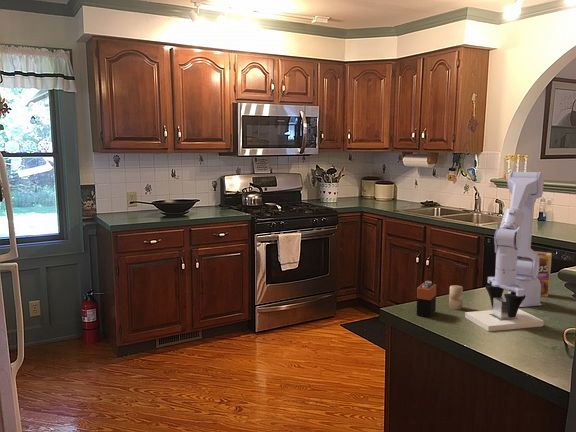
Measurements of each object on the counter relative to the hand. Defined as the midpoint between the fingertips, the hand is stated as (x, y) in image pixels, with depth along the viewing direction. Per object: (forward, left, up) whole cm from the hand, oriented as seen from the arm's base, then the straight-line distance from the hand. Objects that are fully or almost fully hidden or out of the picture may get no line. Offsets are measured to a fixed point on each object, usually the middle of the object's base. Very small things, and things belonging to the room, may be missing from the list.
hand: (503, 312), depth 148 cm
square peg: (0, 0, -3) cm, 3 cm away
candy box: (-28, -22, -3) cm, 36 cm away
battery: (+19, -12, -3) cm, 23 cm away
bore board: (0, 0, -3) cm, 3 cm away
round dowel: (+7, -15, -3) cm, 17 cm away
